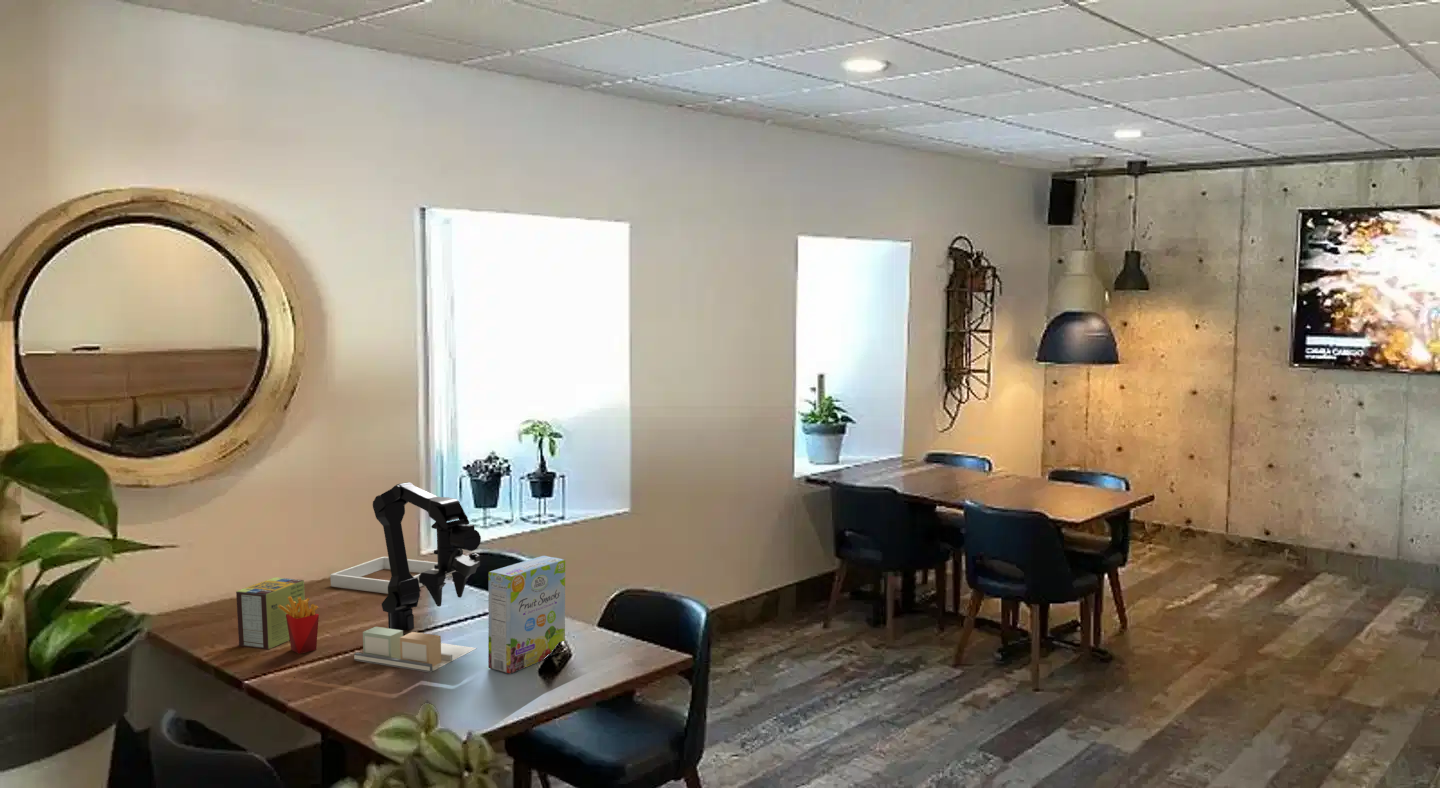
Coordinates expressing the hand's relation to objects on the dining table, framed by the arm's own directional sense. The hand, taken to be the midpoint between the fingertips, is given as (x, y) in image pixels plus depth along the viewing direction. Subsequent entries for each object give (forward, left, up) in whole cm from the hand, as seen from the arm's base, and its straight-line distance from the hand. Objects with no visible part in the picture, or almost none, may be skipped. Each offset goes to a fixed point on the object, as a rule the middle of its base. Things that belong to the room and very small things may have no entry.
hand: (449, 601), depth 300 cm
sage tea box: (-9, -17, -11) cm, 22 cm away
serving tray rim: (-59, +47, -12) cm, 76 cm away
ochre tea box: (+3, -17, -11) cm, 21 cm away
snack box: (+27, -3, -12) cm, 30 cm away
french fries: (-34, -20, -12) cm, 41 cm away
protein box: (-49, -15, -12) cm, 53 cm away
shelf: (-2, -12, -12) cm, 17 cm away
